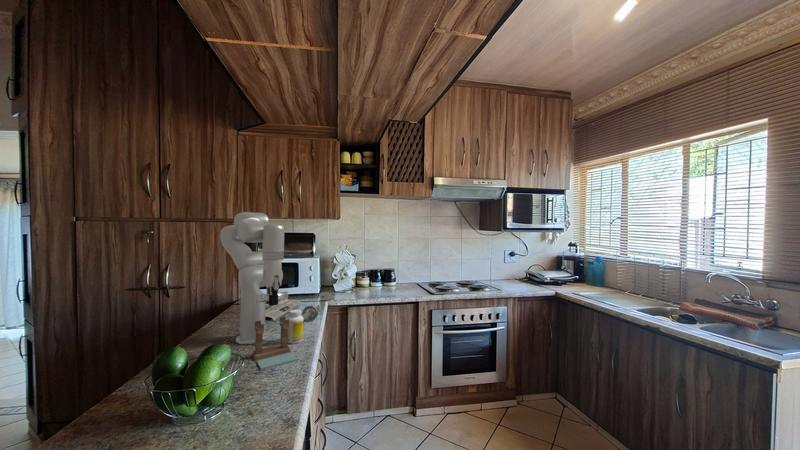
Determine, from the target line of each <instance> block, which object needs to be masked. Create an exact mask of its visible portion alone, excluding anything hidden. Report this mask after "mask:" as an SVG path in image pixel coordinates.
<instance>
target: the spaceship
mask: <svg viewBox="0 0 800 450" xmlns="http://www.w3.org/2000/svg"><path fill="white" fill-rule="evenodd" d="M318 313H322V309H321V306H320V305H319V304H318V305H317V306H313V305H312V304H311V305H307V306H305V307H304V308H303V309H302V311H301V316H302V317H303V319H304V320H305V322H306V321H307V322H313V321H315V320H316V318H317V316H318Z"/></svg>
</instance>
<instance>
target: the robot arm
mask: <svg viewBox="0 0 800 450" xmlns="http://www.w3.org/2000/svg"><path fill="white" fill-rule="evenodd" d="M219 237H220V242H221V245H222V246H223V249H224V250H225V251H226V252H227V253H228V254H229V255H230V257H231V258H232V261H233V263H234V265H235V266H236V269H237V270H238V271H239V272H238V282H239V283H238V284H239V289H240V312H239V313H240V316H239V317H240V318H239V319H240V320H239V321H240V322H239V323H240V324H239V335H237V336H236V337H235V343H237V344H239V345H252V344H254V345H255V340H256V331H255V321H261V324H264V333H263V341H266V340H268V338H269V335H270V334H269V333H268V332H267V331H266V317H265V310H266V304H268V307H273V306H274V305H278V303H279V300H278V292H279V290H280V289H279V288H280V287H281V286H282V281H283V278H284V273H283V269H282V268H283V267H282V261H284V260H285V227H284V225H282V224H277V223H270V219H269V216H268V215H267V214H266V213H264V212H252V211H243V212H239V213H237V214H236V215H235V216H234V218H233V224H231V225H226V226H224V227H223V228H222V229H221V230H220V233H219ZM246 243H250V244H251V243H253V244H254V243H262V251H252V249H251V248H250V246H249V245H247V244H246ZM263 287H266V294H268V293H270V295H269V302H261V303H256V295H260V294H264V292H263V291H262V290H261V289H260V288H263Z"/></svg>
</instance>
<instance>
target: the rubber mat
mask: <svg viewBox="0 0 800 450" xmlns="http://www.w3.org/2000/svg"><path fill="white" fill-rule="evenodd" d="M297 361H298V358H297V357H296V356H295V354H294V353H293V352H292V351H290V352H289V353H285V354H281V355H277V356H273V357H269V358H265V359H261V360H257V361H256V363H257V365H258V367H259V369H260V371H264V370H267V369H271V368H274V367H278V366H281V365H285V364H289V363H292V362H297Z"/></svg>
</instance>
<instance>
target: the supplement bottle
mask: <svg viewBox="0 0 800 450" xmlns="http://www.w3.org/2000/svg"><path fill="white" fill-rule="evenodd" d="M288 319H289V328H288V336H287V344H293V345H294V344H299V343H301V342H303V340H304V320H305V319H303V317H302V310H301V309H297V308H296V309H292V310H290V311H289V316H288V317H287V319H286V320H288Z"/></svg>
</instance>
